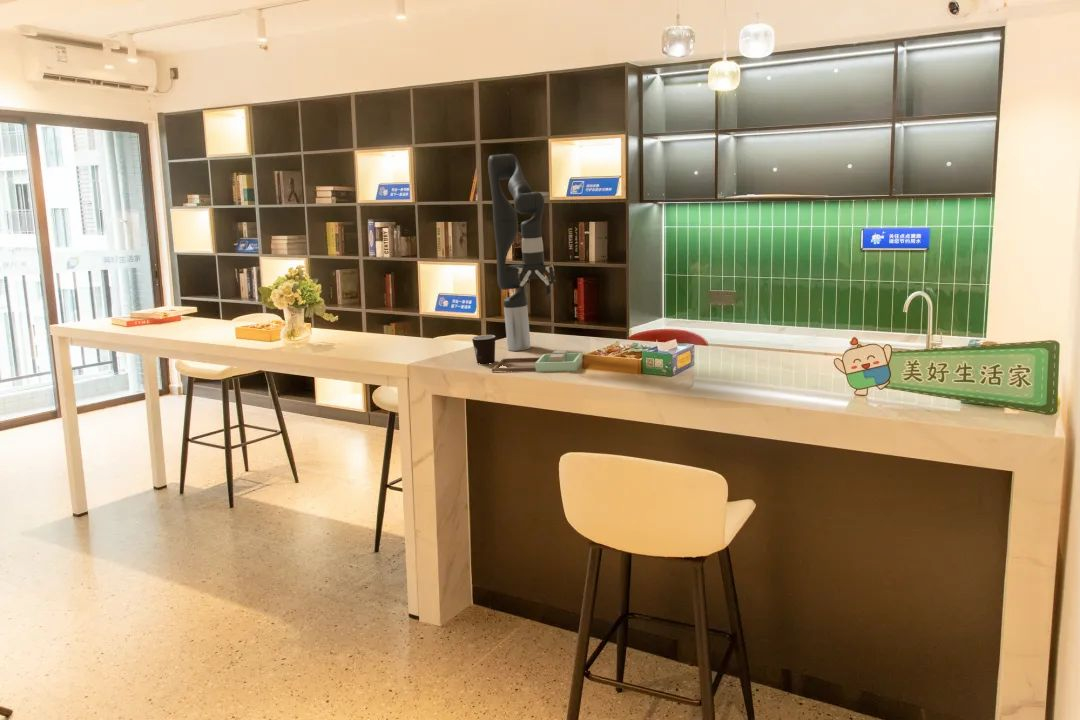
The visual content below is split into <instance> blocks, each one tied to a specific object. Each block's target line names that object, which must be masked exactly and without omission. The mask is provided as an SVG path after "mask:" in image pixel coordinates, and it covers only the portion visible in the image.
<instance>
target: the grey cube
mask: <svg viewBox="0 0 1080 720" xmlns="http://www.w3.org/2000/svg"><path fill="white" fill-rule="evenodd" d="M567 353H568V349H565V350H563V349H562V350H560V349H559V350H558V349H556V350H554V351H553V352H552V353H551V354H565V362H568V355H567Z"/></svg>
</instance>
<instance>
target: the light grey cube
mask: <svg viewBox="0 0 1080 720" xmlns="http://www.w3.org/2000/svg"><path fill="white" fill-rule="evenodd" d="M551 354H552V353H551ZM549 359H550V362H565V354H552V355H551V356H550V357H549Z"/></svg>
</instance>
